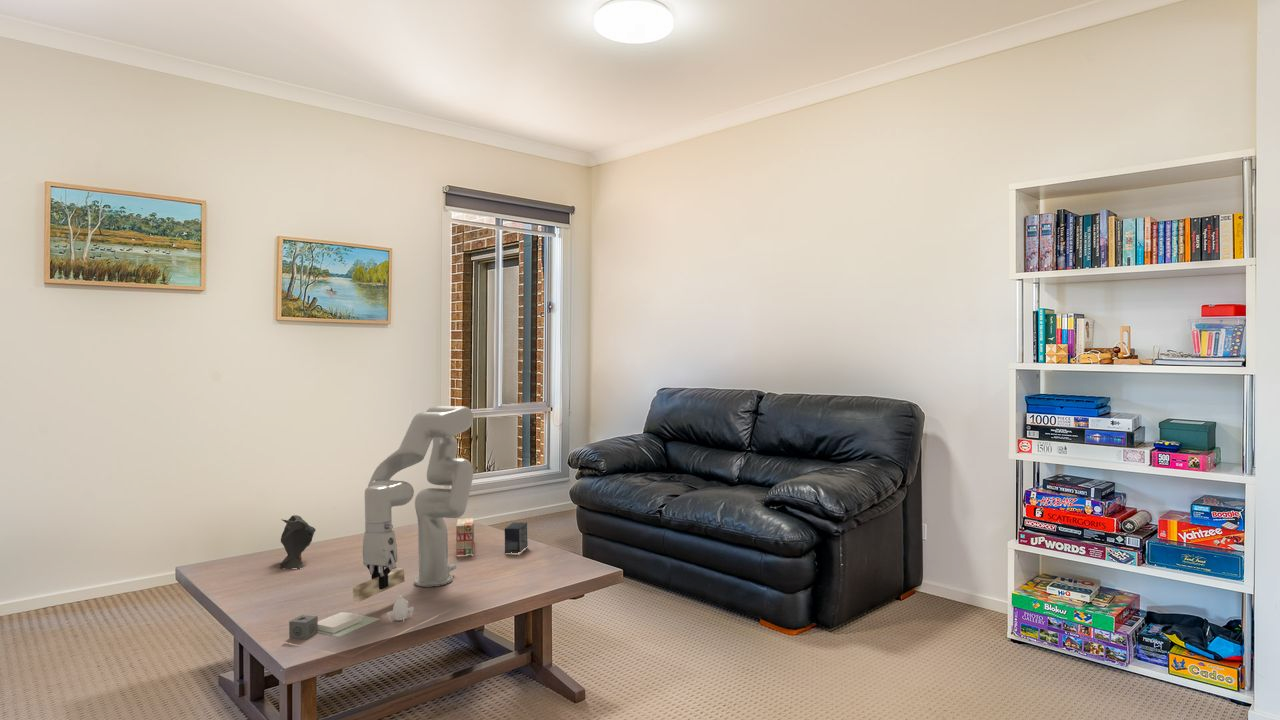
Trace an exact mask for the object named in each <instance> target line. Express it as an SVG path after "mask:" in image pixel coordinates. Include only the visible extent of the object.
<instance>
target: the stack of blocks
mask: <svg viewBox="0 0 1280 720" xmlns="http://www.w3.org/2000/svg"><path fill="white" fill-rule="evenodd" d="M474 525H475V522H474V517H470V518H469V517H468V518H457V522H456V526H455V527H456V530H455V531H456V534H455V536H456V537H455V538H456V541H455V542H456V555H466V554H473V555H474V552H473V550H474V547H475V527H474ZM474 551H475V550H474ZM456 555H455V556H456Z"/></svg>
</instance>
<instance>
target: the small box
mask: <svg viewBox="0 0 1280 720" xmlns="http://www.w3.org/2000/svg"><path fill="white" fill-rule="evenodd" d="M528 542H529V541H528V522H511V523H510V524H509V525H507V526H506V527H504V554H505V553H511V552H512V553H518V552H521V551H522V550H523V549H524V548H526V547H527V546H528V544H529V543H528ZM528 547H529V546H528Z"/></svg>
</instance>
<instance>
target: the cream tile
mask: <svg viewBox="0 0 1280 720" xmlns="http://www.w3.org/2000/svg"><path fill="white" fill-rule="evenodd" d="M344 612H345V611H343V612H342V611H340V612H338V613H335V614H333V615H331V616H329V617H326V618H323V619H320V620H318V630H321V631H326V632H330V633H335V632H338V631H340V630H342V629H345V628H347V627H349V626H352V625H354V624H356V623H359V622H361V621H362V616H360V615H361V614H357V615H354V614H355V613H352V614H349V613H350V612H347V613H344Z"/></svg>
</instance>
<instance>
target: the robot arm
mask: <svg viewBox="0 0 1280 720" xmlns="http://www.w3.org/2000/svg"><path fill="white" fill-rule="evenodd" d="M473 422H474V413H473V412H472V410H471V409H470V407H468V406H464V405H457V406H456V405H451V406H450V405H436V406H432V407H429V408H428V409H426V411H424V412H423V411H422V412H419V413H416V414H415V415H414V416H413V417H412V420H411V422H410V424H409V426H408V428H407V430H406V433H405V435H404V437H403V439H402V441H401V444H400V445H399V447H398V449H397V450H395V451H394V452H392V453H391V454H390V455H388V456H387V457H386V458H385V459H384V460H383V461H381V463H379V464H378V466H377V467H376V468H375V470H374V472H373V474H372V475H371V478H370V480H369V482H368V486H367V487H366V488H365V490H364V519H365V521H364V522H365V523H364V525H365V527H364V528H365V531H364V534H363V540H362V541H363V542H362V565H364V567H366V568H367V570H368V571H369V574H370V575H371V576H370V577H371V579H374V578H376V577H379V589H384V588H386V587H388V574H389V573H390V571H392V570H395V569H397V562H398V546H397V538H396V535H395V534H396V533H395V531H394V530H393V528H394V525H393V524H392V522H393V521H392V507H399V506H400V507H401V506H406V505H407V504H408V503H410V502H411V500H413V497H414V492H415V490H414V488H413V485H412V484H411V483H409V481H408V482H407V481H404V480H393V479H392V478H393V476H395V475H396V474H397V473H398V472H400V471H402V470H404V469H407V468H410V467H413V466H414V465H416V464H419V463H420V462H422V461H424V459H425V456H426V455H427V452H428V450H429V447H430V445H431V442H432V449H431V453H430V458H429V461H428V466H427V470H426V480H427V482H429V484H431V485H435V486H444V487H445V486H446V487H447V486H448V487H451V488H437V487H435V488H434V487H430V488H424V489H422V490H420V491H419V492H418V493H417V494H416V496H415V500H414V508H415V513H416V517H417V529H418V530H417V531H418V534H417V535H418V536H417V537H418V576H417V577H415V578H414V580H413V583H414V585H415V586H417V587H421V588H422V587H424V588H432V587H433V586H435V587H440V585H441V586H444V584H445V585H448V584H450V583H451V582H453V575H452V574H451V572H452V571H454V570H456V569H457V565H456V564H455V563H453V564H448V563H449V561H448V560H449V557H448V556H449V554H448V550H449V548H448V545H449V544H448V543H449V542H448V535H449V534H448V526H447V524H446V523H447V522H446V521H445V519H460V518H461V517H462V516H463V515H464V514H465V512H466V509H467V505H468V502H469V497H470V492H471V488H472V484H473V477H474V469H473V465H472V463H471V461H469V460H468V459H466V458H462V457H459V458H458V457H457V454H458V447H459V446H458V444H459V443H458V441H457V439H456V437H455V436H457V435H459V434H462V433H464V432H466V431H468V430H469V429H470V428H471V427H472V425H473ZM391 479H392V480H391ZM444 518H445V519H444ZM447 583H448V584H447Z"/></svg>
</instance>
